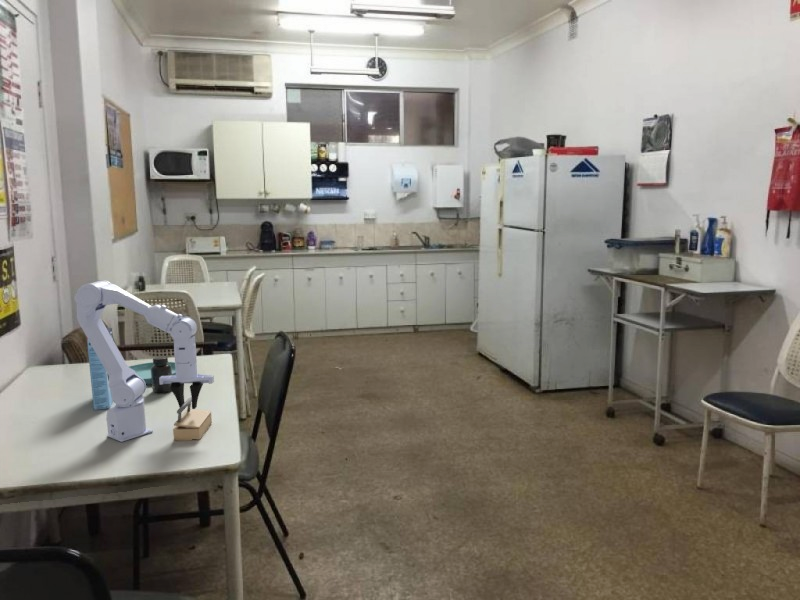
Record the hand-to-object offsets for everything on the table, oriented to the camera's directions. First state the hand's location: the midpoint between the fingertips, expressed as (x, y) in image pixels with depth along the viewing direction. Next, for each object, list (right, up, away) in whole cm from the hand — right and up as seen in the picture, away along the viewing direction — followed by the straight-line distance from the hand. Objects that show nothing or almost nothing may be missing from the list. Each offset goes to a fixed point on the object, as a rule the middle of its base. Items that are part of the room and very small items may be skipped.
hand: (188, 408), depth 171 cm
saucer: (-35, +1, +58) cm, 67 cm away
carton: (+1, -7, +1) cm, 7 cm away
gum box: (-38, -3, +30) cm, 49 cm away
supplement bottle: (-23, -2, +40) cm, 46 cm away
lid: (+1, -3, +1) cm, 3 cm away
